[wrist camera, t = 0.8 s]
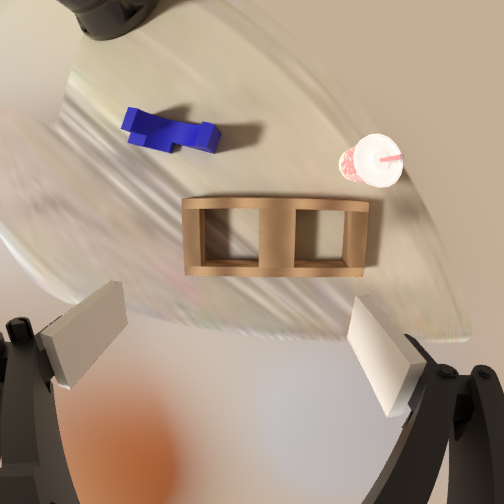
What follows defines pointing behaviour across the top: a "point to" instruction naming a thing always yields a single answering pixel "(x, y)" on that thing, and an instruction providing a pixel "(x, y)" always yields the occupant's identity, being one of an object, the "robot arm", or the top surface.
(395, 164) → the beverage cup
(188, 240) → the wooden holder tray
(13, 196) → the top surface
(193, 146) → the blue notched block
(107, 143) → the top surface
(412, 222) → the top surface
